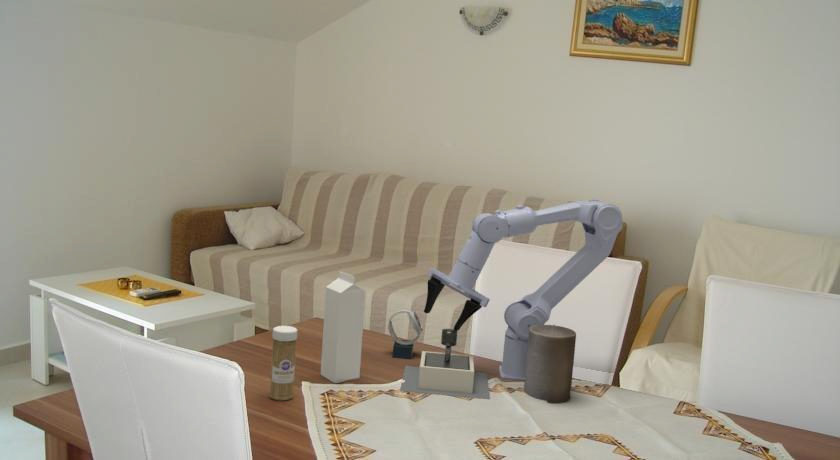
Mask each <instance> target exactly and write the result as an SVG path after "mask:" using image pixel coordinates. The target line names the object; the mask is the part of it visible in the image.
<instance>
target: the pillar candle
mask: <svg viewBox="0 0 840 460" xmlns="http://www.w3.org/2000/svg"><path fill="white" fill-rule="evenodd" d="M576 340H577V333H576V331H574V330H573V329H570V328H568V327H565V326H561V325H555V324H544V325H534V326H531V327H530V328H529V338H528V350H527V361H526V372H525V380H524V387H523V392H524V393H525V394H526V395H528V396H529V397H532V398H534V399H537V400H540V401H541V400H542V401H546V402H547V403H562V402H567V401H569V400H570V399H571V391H572V389H571V388H572V383H573V371H574V362H575V351H576V342H577V341H576Z"/></svg>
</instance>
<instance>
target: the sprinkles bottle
mask: <svg viewBox="0 0 840 460" xmlns="http://www.w3.org/2000/svg"><path fill="white" fill-rule="evenodd" d="M271 336H272V337H271V339H272V351H271V352H272V353H271V361H270V363H271V365H270V386H269V387H270V388H269V390H270V391H269V398H270V399H272V400H275V401H289V400H291V399H292V398H294V393H293V392H294V382H295V370H296V369H295V368H296V347H297V346H296V345H297V344H296V343H297V339H298V328H296V327H294V326H291V325H290V326H289V325H278V326H275V327H273V328H272V335H271Z"/></svg>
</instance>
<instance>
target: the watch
mask: <svg viewBox="0 0 840 460" xmlns="http://www.w3.org/2000/svg"><path fill="white" fill-rule="evenodd" d="M403 313H404V314H405V313H406V314H407V316H408V319H409V321H410V324H411V326H412V328H413V330H414V331H415V332H416V333H417V336H416V337H415V338H414V339H412V340H406V339H399V338H398V335H397V334H396V332H395V330H394V327H393V324H392V323H393V322H392V319H393V318H394V317H395V316H396V315H398V314H403ZM387 328H388V332H389V335H390V337H391V338H392V340H393V341H394V344H393V346H392V358H393V359H404V360H412V358H413V353H414V345H415V343H416V342H417V341H418V340H419V338H420V337H421V332H424V331H423V330H424V329H423V325H422V323H421V320H420V317H419V316H418V314H417V312H416V311H412V310H411V309H409V308H401V309H398V310H395V312H393V313H392V314H391V316H390V318H389V320H388V324H387Z"/></svg>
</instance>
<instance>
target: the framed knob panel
mask: <svg viewBox="0 0 840 460" xmlns="http://www.w3.org/2000/svg"><path fill="white" fill-rule="evenodd" d="M427 353H432V354H443V355H445V352H440V351H439V352H438V351H425V350H421V358H420V364H419V367H420V371H419V383H418V388H421V389H432V390H443V391H454V392H465V393H472V391H473V380H474V372H475V365H474V356H473V355H471V354H462V353H461V354H460V353H451V355H455V356H466V357H467V358H468V370H463V369H452V368H441V367H430V366H426V361H427Z"/></svg>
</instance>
